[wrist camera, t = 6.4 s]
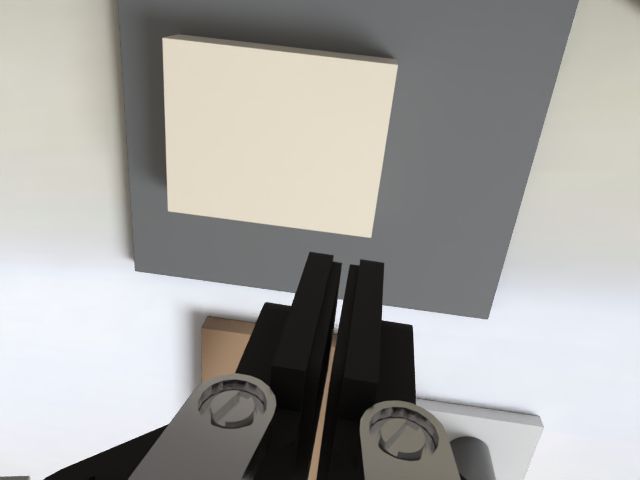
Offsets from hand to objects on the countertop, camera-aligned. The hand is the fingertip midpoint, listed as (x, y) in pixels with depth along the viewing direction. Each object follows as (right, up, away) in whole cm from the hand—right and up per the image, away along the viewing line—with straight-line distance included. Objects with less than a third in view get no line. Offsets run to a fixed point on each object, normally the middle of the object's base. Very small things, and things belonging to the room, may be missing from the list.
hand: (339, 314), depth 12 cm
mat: (0, +7, +15) cm, 16 cm away
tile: (+3, +6, +13) cm, 14 cm away
